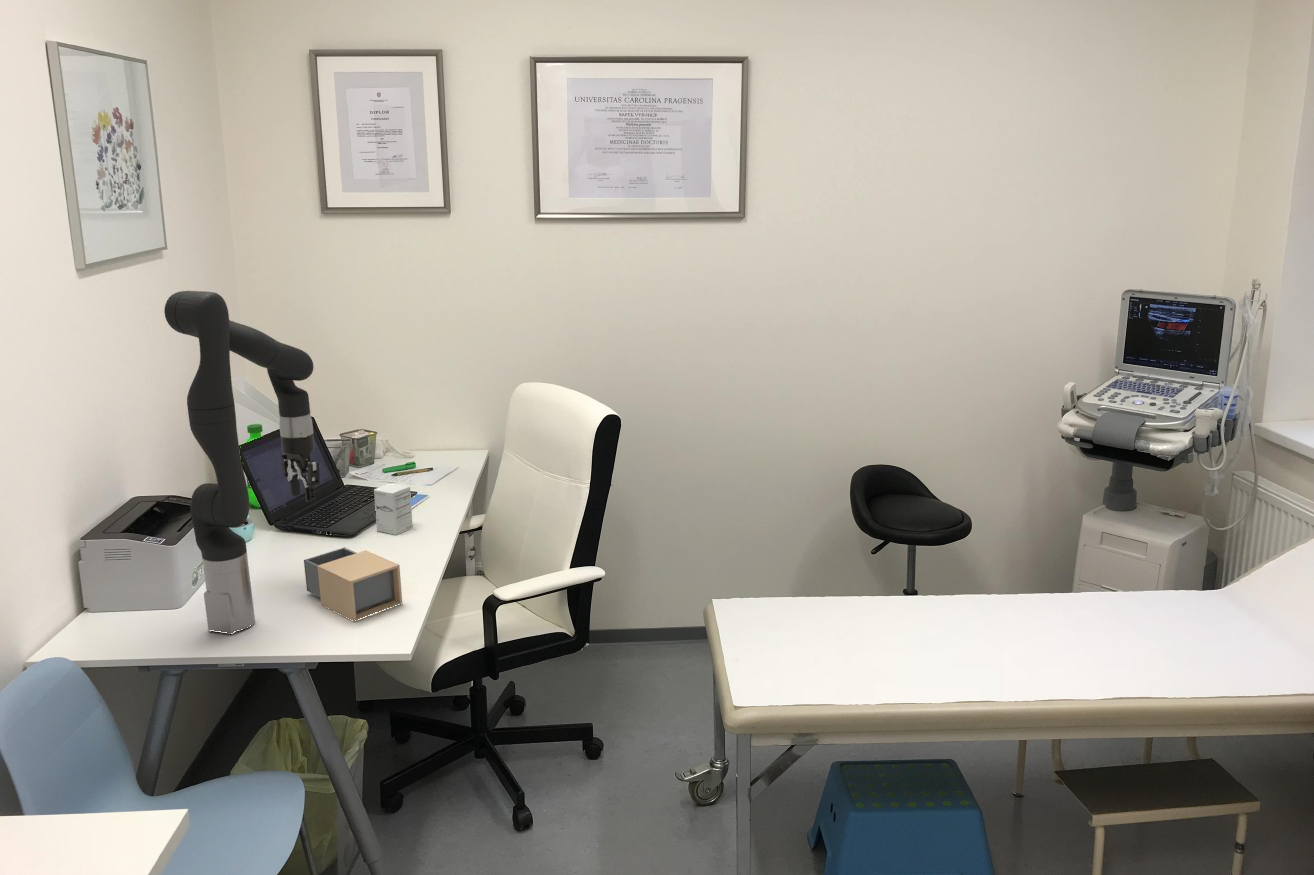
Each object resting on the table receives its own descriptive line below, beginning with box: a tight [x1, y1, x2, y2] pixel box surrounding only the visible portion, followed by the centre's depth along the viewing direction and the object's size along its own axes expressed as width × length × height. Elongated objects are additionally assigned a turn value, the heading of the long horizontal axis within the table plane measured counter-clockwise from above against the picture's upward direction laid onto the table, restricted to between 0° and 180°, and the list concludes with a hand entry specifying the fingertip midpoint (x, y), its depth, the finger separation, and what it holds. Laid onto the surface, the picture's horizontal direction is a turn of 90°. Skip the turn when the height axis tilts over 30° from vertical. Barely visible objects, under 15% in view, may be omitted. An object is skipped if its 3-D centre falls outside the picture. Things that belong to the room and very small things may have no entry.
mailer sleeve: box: [317, 550, 403, 622], centre depth 239 cm, size 14×13×10 cm
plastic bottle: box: [242, 423, 264, 509], centre depth 307 cm, size 10×10×25 cm
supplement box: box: [373, 482, 413, 536], centre depth 287 cm, size 7×7×13 cm
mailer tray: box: [303, 547, 394, 613], centre depth 242 cm, size 20×11×8 cm, turn 48°
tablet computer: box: [411, 493, 430, 509], centre depth 310 cm, size 19×13×1 cm, turn 166°
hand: (303, 498), depth 249 cm, fingers open, 6 cm apart
